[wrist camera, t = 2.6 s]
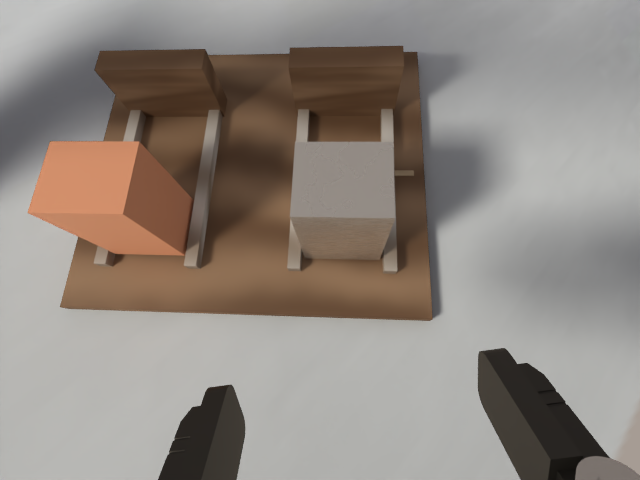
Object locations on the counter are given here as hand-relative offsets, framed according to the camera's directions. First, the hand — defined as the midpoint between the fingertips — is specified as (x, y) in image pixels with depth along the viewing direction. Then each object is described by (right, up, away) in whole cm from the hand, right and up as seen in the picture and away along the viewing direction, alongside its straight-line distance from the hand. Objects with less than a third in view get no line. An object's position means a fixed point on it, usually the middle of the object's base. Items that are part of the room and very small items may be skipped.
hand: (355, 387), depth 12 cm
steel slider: (+1, +6, +18) cm, 19 cm away
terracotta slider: (-15, +6, +19) cm, 25 cm away
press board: (-7, +11, +22) cm, 26 cm away
